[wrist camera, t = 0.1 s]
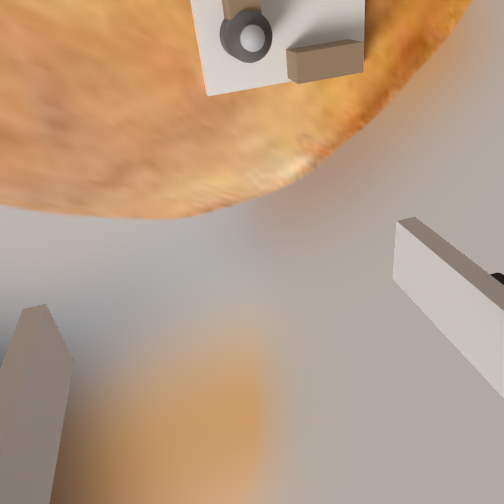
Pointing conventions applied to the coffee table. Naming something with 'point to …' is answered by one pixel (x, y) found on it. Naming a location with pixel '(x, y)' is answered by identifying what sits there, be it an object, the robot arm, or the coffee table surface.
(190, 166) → the coffee table surface
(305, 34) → the stand board
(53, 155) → the coffee table surface
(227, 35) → the leg
